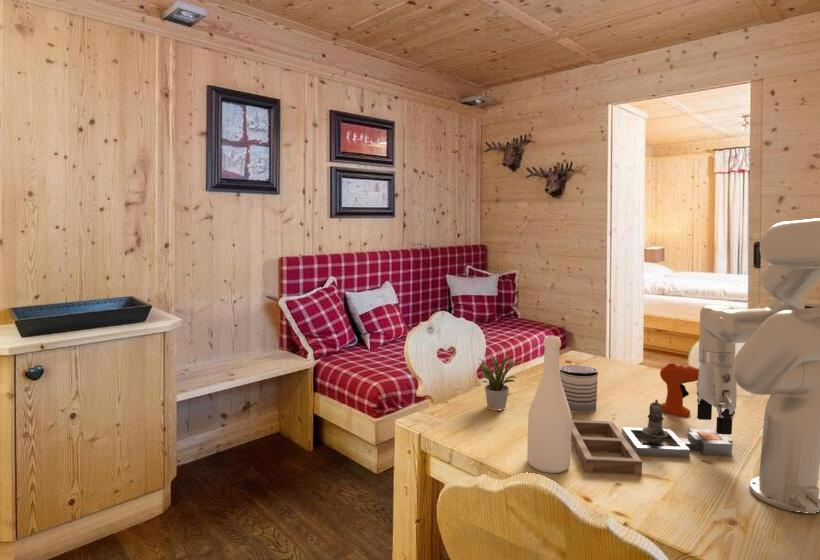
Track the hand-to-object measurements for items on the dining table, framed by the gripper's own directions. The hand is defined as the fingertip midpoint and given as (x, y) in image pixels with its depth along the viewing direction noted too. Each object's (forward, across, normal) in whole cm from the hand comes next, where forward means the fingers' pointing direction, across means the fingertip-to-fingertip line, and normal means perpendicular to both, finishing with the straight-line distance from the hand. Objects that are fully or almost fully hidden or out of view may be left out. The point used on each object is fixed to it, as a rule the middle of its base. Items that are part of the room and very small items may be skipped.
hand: (713, 426), depth 125 cm
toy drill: (+5, +22, -5) cm, 23 cm away
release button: (+6, +1, 0) cm, 6 cm away
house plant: (+5, +24, +49) cm, 55 cm away
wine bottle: (+6, -11, +41) cm, 43 cm away
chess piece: (+6, +1, +13) cm, 15 cm away
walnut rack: (+6, -3, +27) cm, 28 cm away
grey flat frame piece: (+6, +1, +8) cm, 10 cm away
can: (+5, +27, +26) cm, 38 cm away
